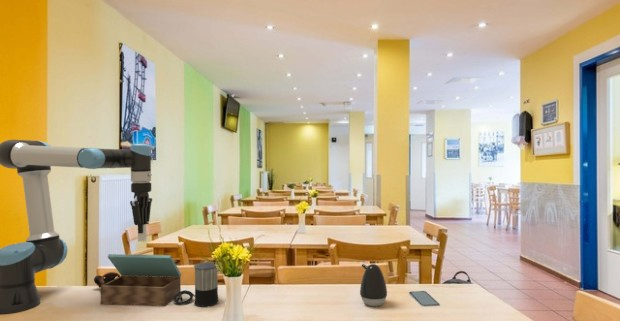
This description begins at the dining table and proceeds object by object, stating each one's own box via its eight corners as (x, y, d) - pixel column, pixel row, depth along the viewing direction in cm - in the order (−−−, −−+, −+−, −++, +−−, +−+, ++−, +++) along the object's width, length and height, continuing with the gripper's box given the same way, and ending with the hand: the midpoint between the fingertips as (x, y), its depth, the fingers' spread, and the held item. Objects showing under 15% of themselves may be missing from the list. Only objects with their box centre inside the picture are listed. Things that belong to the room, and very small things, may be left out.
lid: (107, 256, 158) (109, 253, 159) (121, 275, 167) (122, 272, 168) (169, 257, 155) (171, 254, 156) (180, 277, 164) (181, 273, 165)
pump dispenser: (370, 297, 158) (370, 259, 158) (392, 303, 151) (392, 264, 151) (354, 304, 151) (353, 264, 151) (376, 311, 144) (376, 269, 144)
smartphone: (421, 305, 148) (408, 291, 163) (421, 308, 148) (408, 293, 163) (440, 304, 149) (425, 290, 164) (440, 307, 149) (425, 293, 164)
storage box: (100, 304, 153) (100, 286, 153) (121, 292, 167) (121, 275, 167) (164, 306, 150) (164, 287, 150) (180, 293, 164) (180, 277, 164)
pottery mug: (125, 286, 177) (126, 272, 174) (115, 302, 169) (115, 288, 165) (98, 279, 177) (98, 266, 173) (86, 295, 168) (86, 281, 164)
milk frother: (221, 304, 152) (221, 265, 152) (179, 312, 144) (179, 272, 144) (210, 294, 164) (210, 258, 164) (171, 301, 156) (171, 263, 156)
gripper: (141, 183, 152) (142, 244, 152) (158, 181, 165) (159, 237, 165) (123, 183, 153) (124, 244, 153) (141, 181, 166) (141, 237, 166)
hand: (142, 240), depth 159 cm, fingers closed
